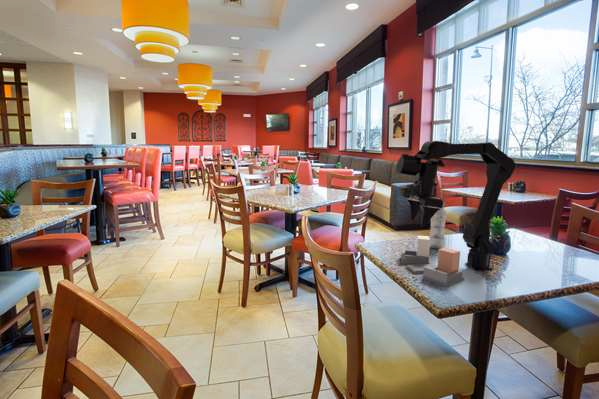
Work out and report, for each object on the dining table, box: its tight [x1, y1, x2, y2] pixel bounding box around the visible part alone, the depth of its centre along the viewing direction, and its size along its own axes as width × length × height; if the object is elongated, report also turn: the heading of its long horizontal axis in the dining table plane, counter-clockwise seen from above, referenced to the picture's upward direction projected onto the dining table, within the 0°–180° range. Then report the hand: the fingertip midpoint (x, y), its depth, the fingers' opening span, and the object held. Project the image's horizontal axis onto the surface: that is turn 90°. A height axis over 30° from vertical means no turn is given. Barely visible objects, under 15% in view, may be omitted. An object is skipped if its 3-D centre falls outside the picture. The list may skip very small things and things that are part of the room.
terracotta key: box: [436, 247, 461, 275], centre depth 111 cm, size 4×5×8 cm
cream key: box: [416, 235, 431, 257], centre depth 127 cm, size 4×5×8 cm
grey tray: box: [400, 246, 465, 288], centre depth 119 cm, size 13×30×4 cm, turn 9°
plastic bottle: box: [429, 203, 448, 250], centre depth 144 cm, size 6×7×20 cm
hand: (417, 223), depth 118 cm, fingers open, 9 cm apart
